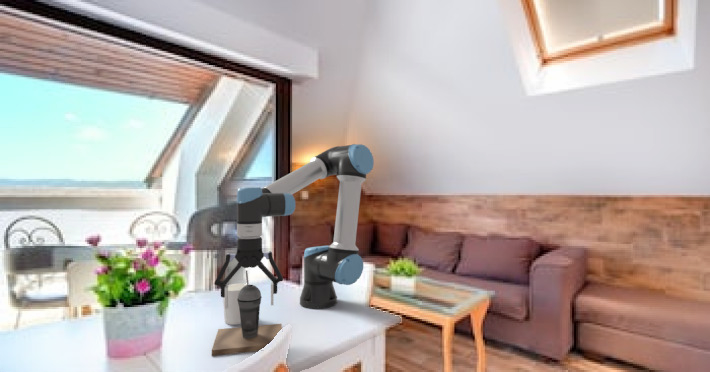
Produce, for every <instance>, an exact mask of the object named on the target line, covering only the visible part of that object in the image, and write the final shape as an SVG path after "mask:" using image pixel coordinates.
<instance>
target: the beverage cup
mask: <svg viewBox="0 0 710 372" xmlns="http://www.w3.org/2000/svg"><path fill="white" fill-rule="evenodd" d="M248 274H249V273H248V270H245V277H246V284H247V285H246V286H244V287H243V288H242V289H241V290H240V292H239V294H238V299H237V300H238V305H239V310H240V319H241V324H240V327H241V329H242V335H243V338H246V339H249V338H254V337H256V336H257V335H258V326H260V324H259V322H260V308H261V302H262V293H261V290H260V288H259V287H257V286H256V285H253V284H250V285H249V275H248Z"/></svg>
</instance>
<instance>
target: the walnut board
mask: <svg viewBox="0 0 710 372" xmlns="http://www.w3.org/2000/svg"><path fill="white" fill-rule="evenodd" d="M281 329H282V330H283V325H282V323H275V324H274V323H273V324H264V325H260V324H259V325H258V335H257V336H256V337H254V338H249V339H246V338H243V335H242V329H241V326H240V327H239V326H238V327H229V328H218V329H217V333H216V336H215V339H214V341H213V345H212V347H211V356H219V355H220V356H222V355H230V354H232V355H233V354H239V353H240V354H241V353H250V352H252V353H253V352H259V351H258V350H260V349H262V348H264V347H265V346H266V345H267V344H269V343H270V342H271V341H272V340H273V339H274V337H275V336H276V335H277V333H278V332H279V331H280V330H281Z"/></svg>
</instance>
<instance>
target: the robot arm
mask: <svg viewBox="0 0 710 372" xmlns="http://www.w3.org/2000/svg"><path fill="white" fill-rule="evenodd" d="M374 162H375V161H374V156H373V153H372V152H371V150H370V148H369V147H368V146H367V145H364V144H362V143H361V144H360V143H359V144H358V143H357V144H355V143H353V144H348V145H340V146H339V145H338V146H334V147H331V148H328V149H326V150H325V151H323V152H320V153H319V154H317V155H315V156H313V157H312V158H310V160H309V162H308V163H306V164H304V165H302V166H300V167H299V168H297V169H295V170H293V171H292V172H290V173H288V174H286V175H284V176H282V177H281V178H279V179H277V180H275V181H273V182H271V183H270V184H267V185H266V186H264V187H252V186H251V187H248V186H247V187H246V186H245V187H239V188H238V189H237V194H236V202H235V203H236V237H237V239H236V253H230V252H228V253H226V255H225V260H224V261H225V262H224V263H223V265H222V267H221V269H220V271H219V274H218V275H217V277H216V279H215V281H214V283H213V284H214V286H219V287H220V297H221V298H223V297H225V309H227V308H228V285H229V284H228V282H230V280H231V279H232V278H233V276H235V275H236V273H237V272H238V271H239V270H240V269H241V267H242V268H244V269H248V268H256V267H258V268H259V270H261V271H262V273H264V274H265V276H266V277H267V278H268V279H269V280H270V281H271V282H270V306H274V295H275V294H277V293H278V284H279V283H281V282H283V281H284V278H283V277H284V276H283V275H282V273H281V271H280V268H279V267H278V265H277V263H276V261H275V260H274V257H273V251H272V250H270V251H268V252H264V251H263V238H262V235H263V218H266V217H281V216H282V217H285V216H290V215H292V214H294V212H295V211H296V200H295V199H296V198H295V197H294V194H295V193H297V192H299V191H300V190H302V189H305V188H306V187H308V186H309V185H310V184H312V183H314V182H316V181H317V180H319V179H320V180H324V179H326V178H328V177H330V176H336V178H337V180H338V181H339V187H338V195H337V196H338V197H337V204H336V205H337V206H336V213H335V215H336V216H335V223H334V234H333V242H331V244H330V245H321V246H319V245H317V246H311V247H307V248H305V250H304V255H303V279H304V281H303V287H302V289H301V290H302V291H301V294H300V297H299V305H300V306H301V307H303V308H308V309H327V308H331V307H333V306H335V305H337V303H338V296H337V294H336V290H335V287H334V283H337V284H339V285H345V286H350V285H353V284H355V283H356V282H357V281H358V280H359V279H360V277H361V276H362V274H363V270H364V261H363V258H362V257H361V255H360V254H359V250H360V249H359V247H357V245H356V243H357V241H356V240H357V230H358V222H359V221H358V220H359V211H360V210H359V209H360V202H361V194H362V193H361V191H362V184H363V183H364V182H365V181H367V175H368V174H369V173H371V171H372V170H373V168H374V164H375V163H374ZM264 257H265V259H266V260H268V261H269V264H270V265H271V267H272V269H273V271H274V273H275V275H276V277H275V276H274V274H273V273H272V272H271V271H270V270H269V269H268V268H267V267H266V266H265V264H264V262H262V260H263V259H264ZM234 259H235V260H236V261H237V263H236V264H235V266H234V267H233V268H232V270H231V271H230V272H229V273H228V274H227V276H225V278H224V279H223V280H222V278H223V276H224V274H225V272H226V270H227V268H228V266H229V265H230V262H232V261H233V260H234Z"/></svg>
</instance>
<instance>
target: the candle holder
mask: <svg viewBox="0 0 710 372" xmlns="http://www.w3.org/2000/svg"><path fill="white" fill-rule="evenodd" d="M227 285H228V308H227V309H225V297H222V300H223V301H222V302H223V315H224V319H223V320H224V323H225V324H227V325H231V326H235V325H241V319H240V310H239V305H238V300H237V299H238V294H239V292H240V290H241V289H242V288H243V287H244V286H246V285H247V283H239V282H238V283H230V284H227ZM249 285H251V284H249Z"/></svg>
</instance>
